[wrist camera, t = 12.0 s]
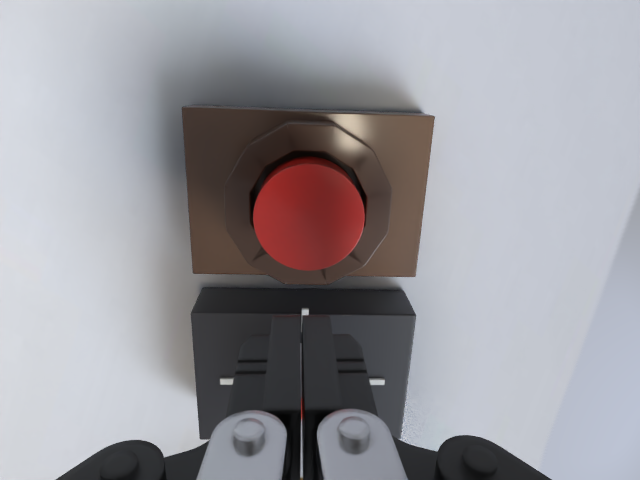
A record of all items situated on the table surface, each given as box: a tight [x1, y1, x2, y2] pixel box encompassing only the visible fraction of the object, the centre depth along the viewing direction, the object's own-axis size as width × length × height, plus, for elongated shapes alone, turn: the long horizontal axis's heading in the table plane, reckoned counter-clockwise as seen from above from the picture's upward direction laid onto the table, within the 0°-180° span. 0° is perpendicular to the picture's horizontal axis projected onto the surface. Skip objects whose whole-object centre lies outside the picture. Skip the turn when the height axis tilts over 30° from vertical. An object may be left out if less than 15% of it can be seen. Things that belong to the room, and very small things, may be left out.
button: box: [253, 156, 365, 271], centre depth 20 cm, size 5×5×2 cm
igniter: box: [182, 105, 435, 285], centre depth 22 cm, size 12×8×4 cm
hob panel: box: [191, 288, 416, 439], centre depth 26 cm, size 12×9×3 cm
